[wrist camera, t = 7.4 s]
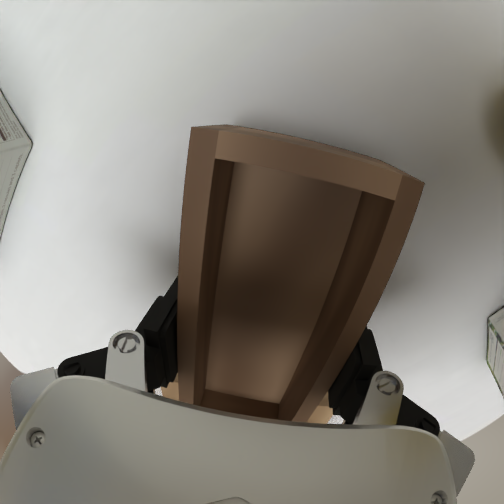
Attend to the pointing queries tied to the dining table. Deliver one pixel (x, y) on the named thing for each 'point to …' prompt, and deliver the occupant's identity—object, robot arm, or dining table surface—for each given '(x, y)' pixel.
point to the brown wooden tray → (280, 266)
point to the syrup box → (496, 348)
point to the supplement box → (10, 155)
